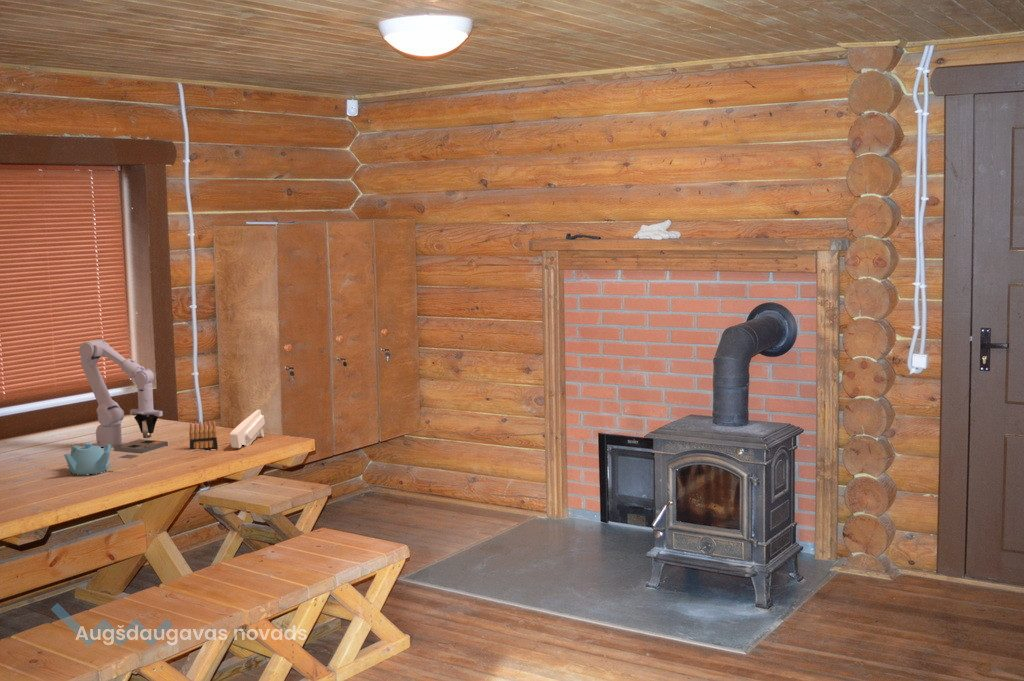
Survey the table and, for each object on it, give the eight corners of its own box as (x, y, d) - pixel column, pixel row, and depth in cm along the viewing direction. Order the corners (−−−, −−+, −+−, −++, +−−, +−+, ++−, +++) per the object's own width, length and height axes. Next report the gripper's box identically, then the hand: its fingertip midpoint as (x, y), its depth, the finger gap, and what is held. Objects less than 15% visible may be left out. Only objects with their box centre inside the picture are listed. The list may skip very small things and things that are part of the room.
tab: (118, 459, 404) (118, 457, 404) (127, 457, 409) (127, 454, 409) (131, 461, 402) (131, 458, 402) (140, 458, 407) (139, 455, 407)
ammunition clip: (217, 448, 423) (216, 419, 421) (217, 449, 421) (216, 420, 420) (189, 451, 419) (188, 421, 417) (190, 452, 417) (188, 422, 416)
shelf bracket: (268, 437, 445) (265, 409, 441) (243, 462, 421) (239, 433, 417) (256, 436, 446) (252, 409, 442) (231, 461, 422) (227, 433, 419)
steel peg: (141, 438, 423) (139, 421, 421) (146, 435, 426) (144, 419, 424) (148, 438, 422) (146, 421, 421) (153, 436, 425) (151, 419, 424)
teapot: (114, 465, 396) (113, 437, 394) (110, 475, 381) (108, 445, 380) (71, 468, 392) (69, 440, 390) (65, 478, 377) (63, 448, 376)
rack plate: (114, 452, 416) (113, 446, 416) (139, 445, 430) (139, 438, 430) (142, 455, 411) (142, 449, 411) (167, 447, 425) (167, 441, 425)
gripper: (124, 400, 421) (125, 433, 422) (153, 402, 416) (155, 436, 417) (136, 397, 427) (137, 430, 429) (165, 399, 422) (167, 432, 424)
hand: (147, 432), depth 424 cm, fingers closed on steel peg, 3 cm apart
